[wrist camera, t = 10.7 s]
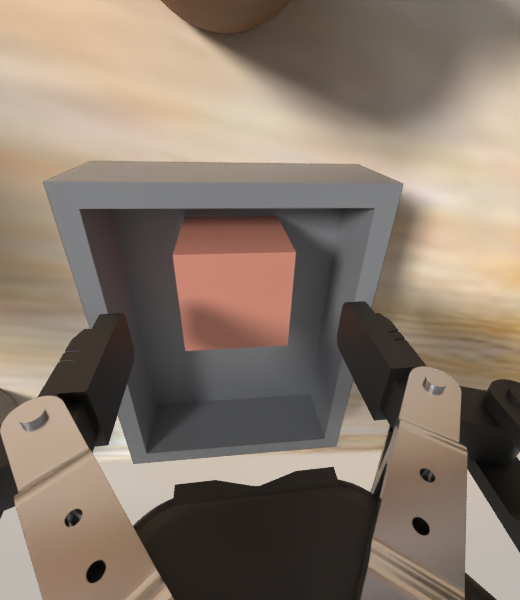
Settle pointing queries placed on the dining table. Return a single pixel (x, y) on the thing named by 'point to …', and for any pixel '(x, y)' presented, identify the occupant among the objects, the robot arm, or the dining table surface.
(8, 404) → the steel cylinder
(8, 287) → the dining table surface
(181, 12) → the mug
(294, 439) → the tote
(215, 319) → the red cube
